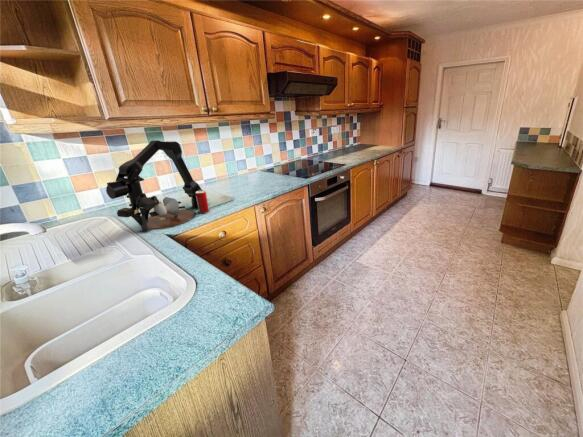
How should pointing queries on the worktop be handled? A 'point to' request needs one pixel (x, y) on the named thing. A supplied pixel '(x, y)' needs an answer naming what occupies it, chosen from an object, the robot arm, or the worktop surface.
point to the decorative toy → (166, 208)
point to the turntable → (166, 220)
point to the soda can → (202, 201)
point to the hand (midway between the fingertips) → (143, 224)
